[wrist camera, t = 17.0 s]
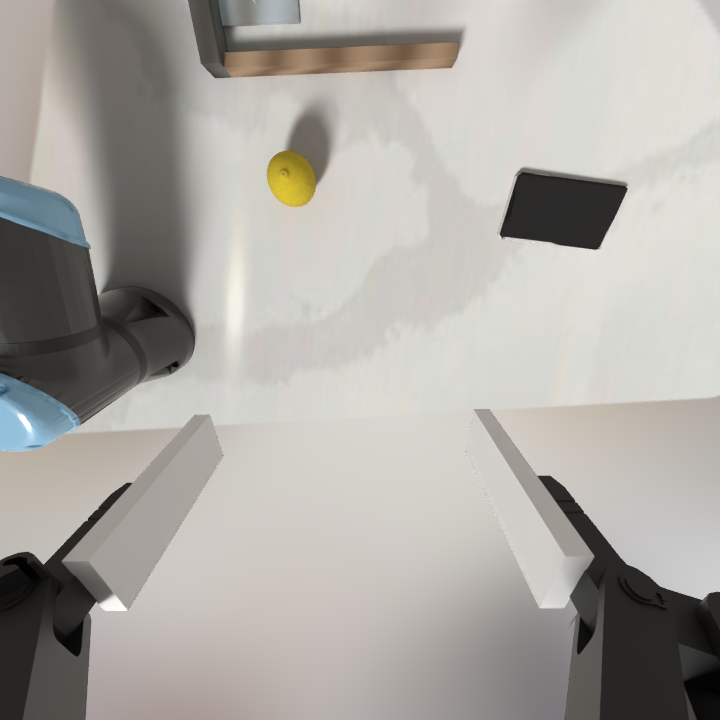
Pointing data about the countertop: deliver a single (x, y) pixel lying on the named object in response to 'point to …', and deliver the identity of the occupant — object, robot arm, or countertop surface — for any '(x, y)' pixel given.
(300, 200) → the lemon
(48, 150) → the countertop surface
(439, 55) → the track
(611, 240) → the countertop surface
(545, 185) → the smartphone
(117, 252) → the countertop surface
